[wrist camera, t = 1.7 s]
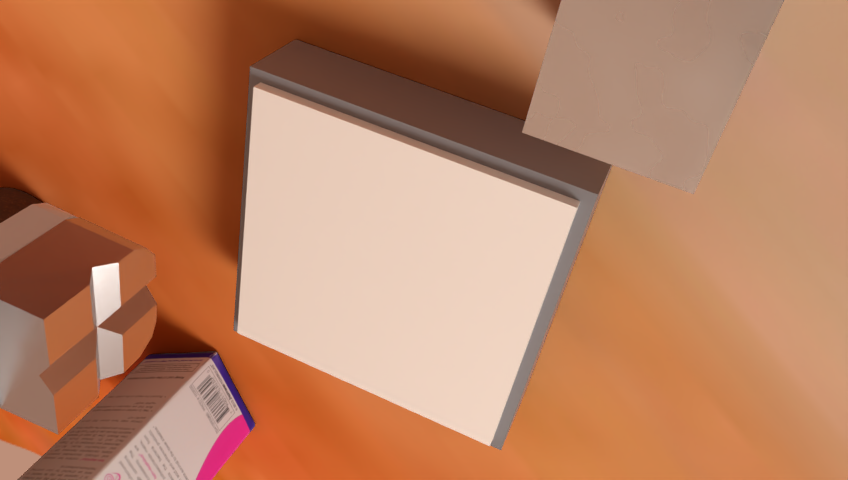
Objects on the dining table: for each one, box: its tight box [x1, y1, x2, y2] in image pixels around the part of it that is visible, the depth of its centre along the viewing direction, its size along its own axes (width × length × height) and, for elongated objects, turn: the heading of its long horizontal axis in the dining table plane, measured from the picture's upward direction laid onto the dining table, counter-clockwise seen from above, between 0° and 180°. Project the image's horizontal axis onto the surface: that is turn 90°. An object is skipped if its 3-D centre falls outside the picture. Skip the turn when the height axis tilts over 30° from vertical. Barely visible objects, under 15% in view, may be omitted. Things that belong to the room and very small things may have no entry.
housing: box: [522, 0, 784, 194], centre depth 23 cm, size 5×7×8 cm
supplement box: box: [18, 352, 255, 480], centre depth 44 cm, size 6×6×12 cm
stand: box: [234, 39, 612, 450], centre depth 34 cm, size 14×14×4 cm
